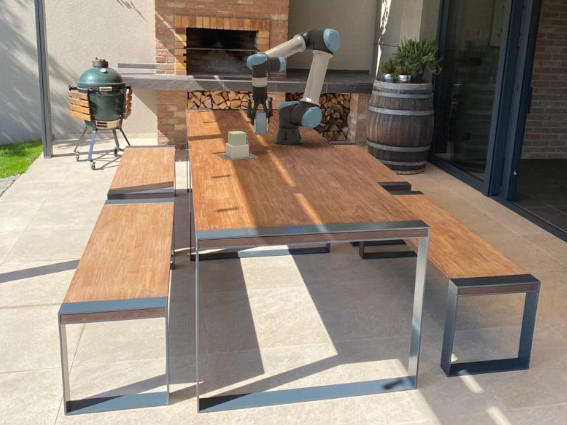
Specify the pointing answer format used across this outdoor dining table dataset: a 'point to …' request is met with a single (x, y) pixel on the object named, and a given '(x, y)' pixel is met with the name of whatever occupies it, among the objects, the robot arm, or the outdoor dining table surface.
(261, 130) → the grey rounded cylinder
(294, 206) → the outdoor dining table surface
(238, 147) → the tower base
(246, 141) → the beige rounded lump
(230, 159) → the mat
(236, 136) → the tower top
